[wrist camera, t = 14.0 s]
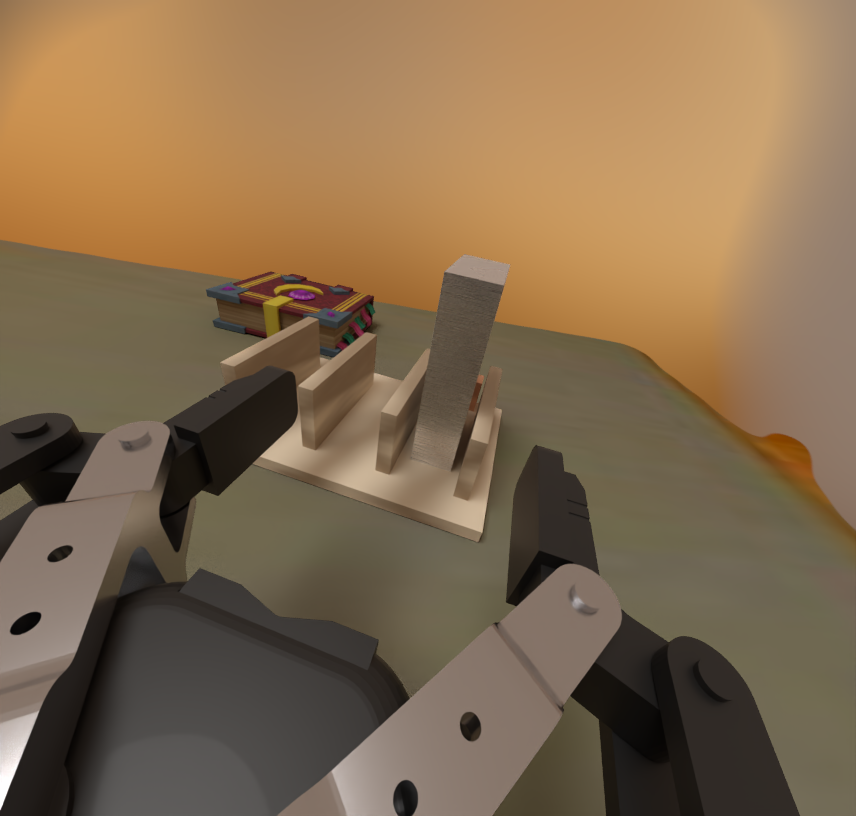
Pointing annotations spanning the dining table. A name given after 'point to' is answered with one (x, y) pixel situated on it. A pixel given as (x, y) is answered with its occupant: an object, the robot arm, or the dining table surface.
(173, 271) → the dining table surface
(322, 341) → the decorative book
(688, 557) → the dining table surface
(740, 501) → the dining table surface
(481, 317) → the aluminium block
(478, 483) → the slot rack
